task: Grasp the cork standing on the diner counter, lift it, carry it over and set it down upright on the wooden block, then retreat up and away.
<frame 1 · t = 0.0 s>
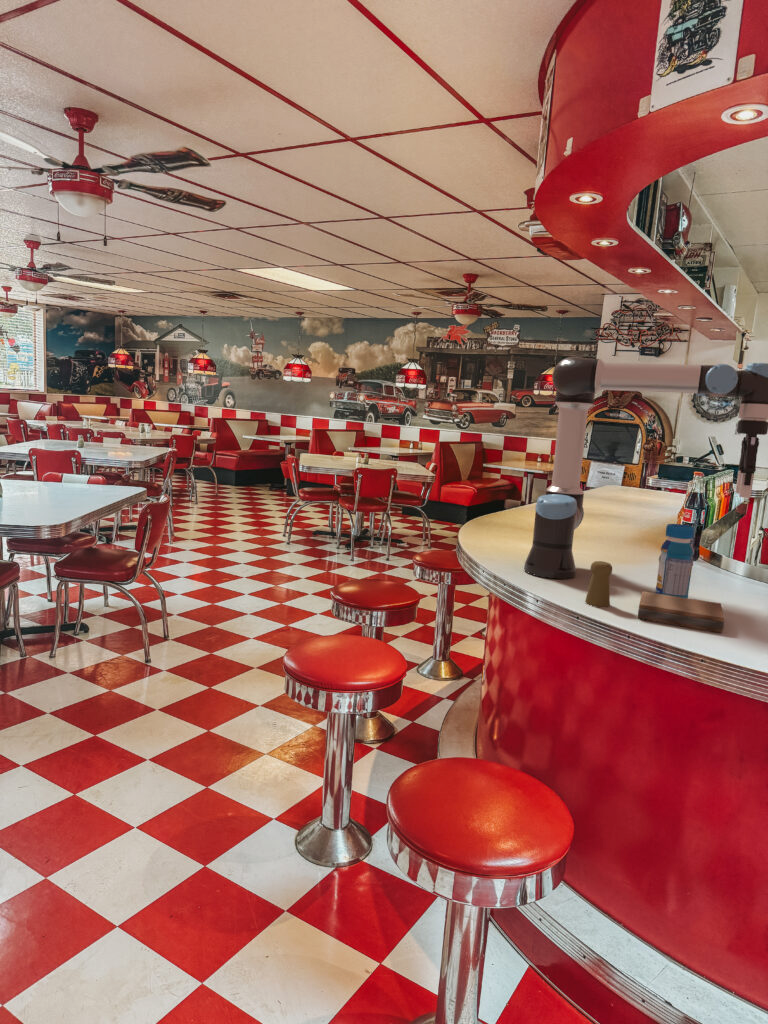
hand: (742, 495, 183), 28 cm above the table, fingers open, 13 cm apart
wooden block: (678, 617, 156), on the table
cork: (597, 604, 164), on the table
beverage bottle: (670, 599, 174), on the table
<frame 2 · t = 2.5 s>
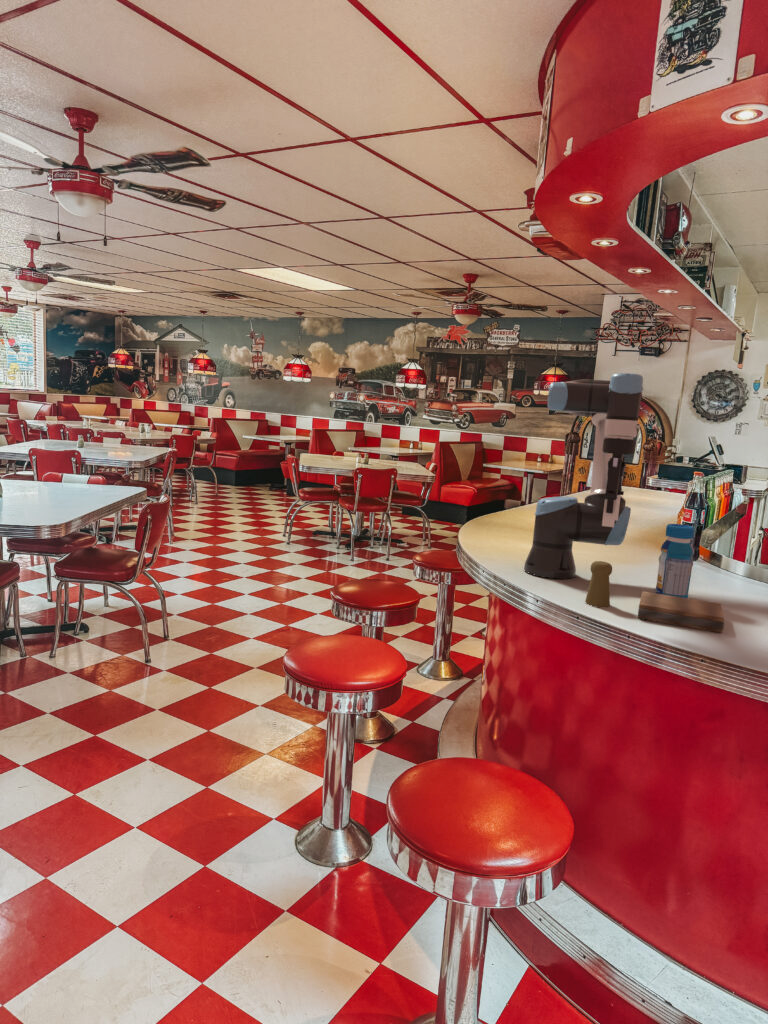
hand: (610, 523, 161), 21 cm above the table, fingers open, 13 cm apart
nothing on the table moved.
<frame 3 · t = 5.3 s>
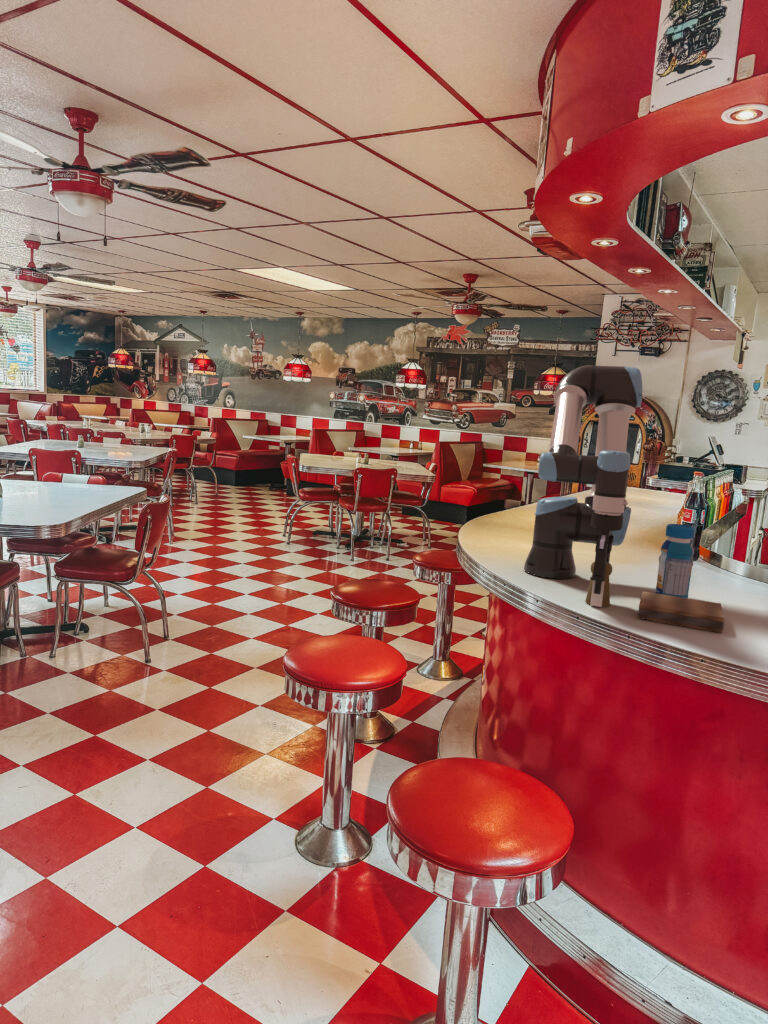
hand: (597, 602, 164), 0 cm above the table, fingers closed on cork, 6 cm apart
cork: (597, 604, 164), on the table, touching gripper
everything else where it was.
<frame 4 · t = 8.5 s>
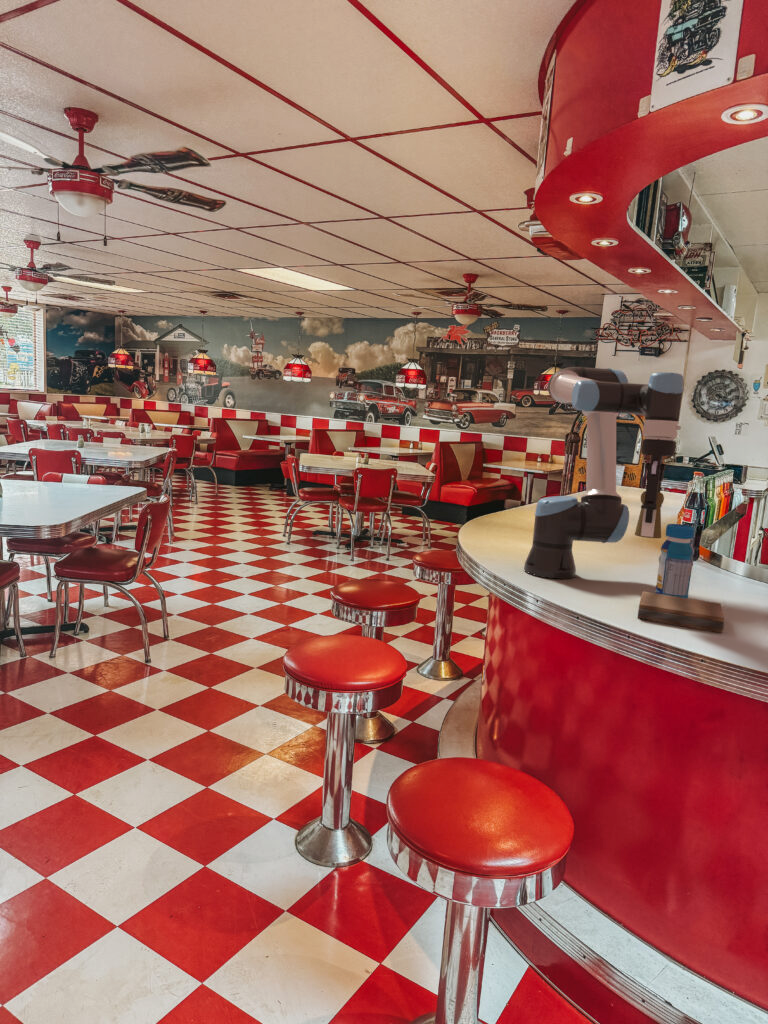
hand: (648, 534, 156), 19 cm above the table, fingers closed on cork, 6 cm apart
cork: (647, 536, 156), point 19 cm above the table, touching gripper
everything else where it was.
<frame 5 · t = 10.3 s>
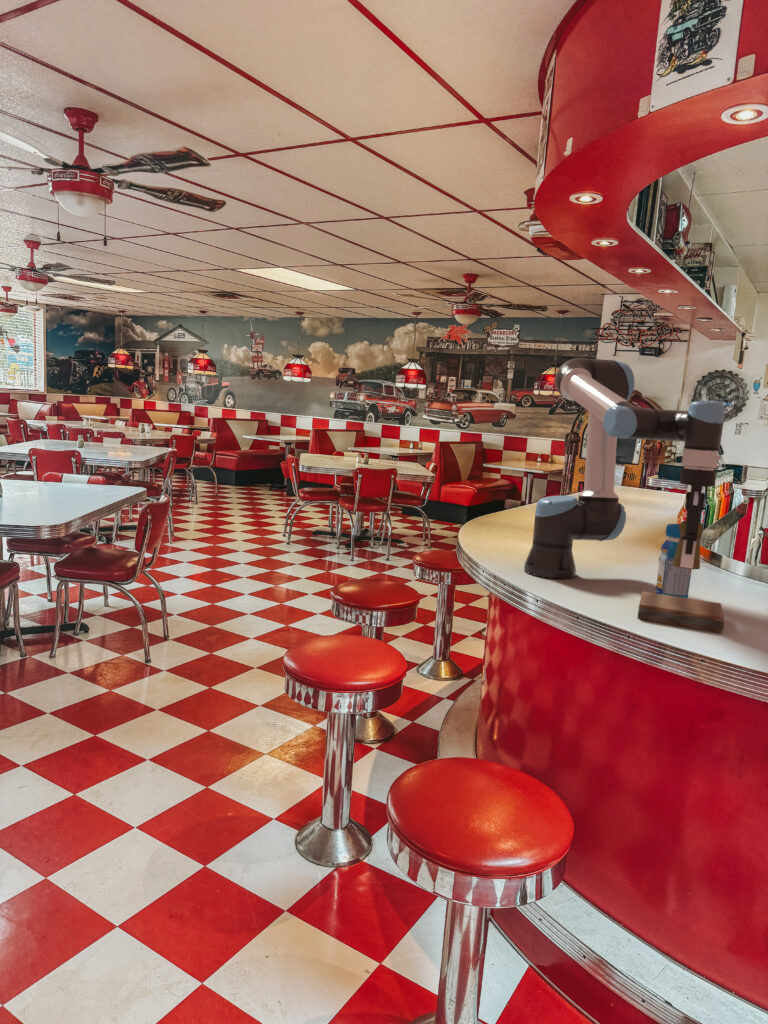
hand: (686, 564, 154), 13 cm above the table, fingers closed on cork, 6 cm apart
cork: (685, 567, 154), point 13 cm above the table, touching gripper
everything else where it was.
when the fingers open (5 cm above the table, at t = 12.0 s): cork drops 1 cm, resting on wooden block.
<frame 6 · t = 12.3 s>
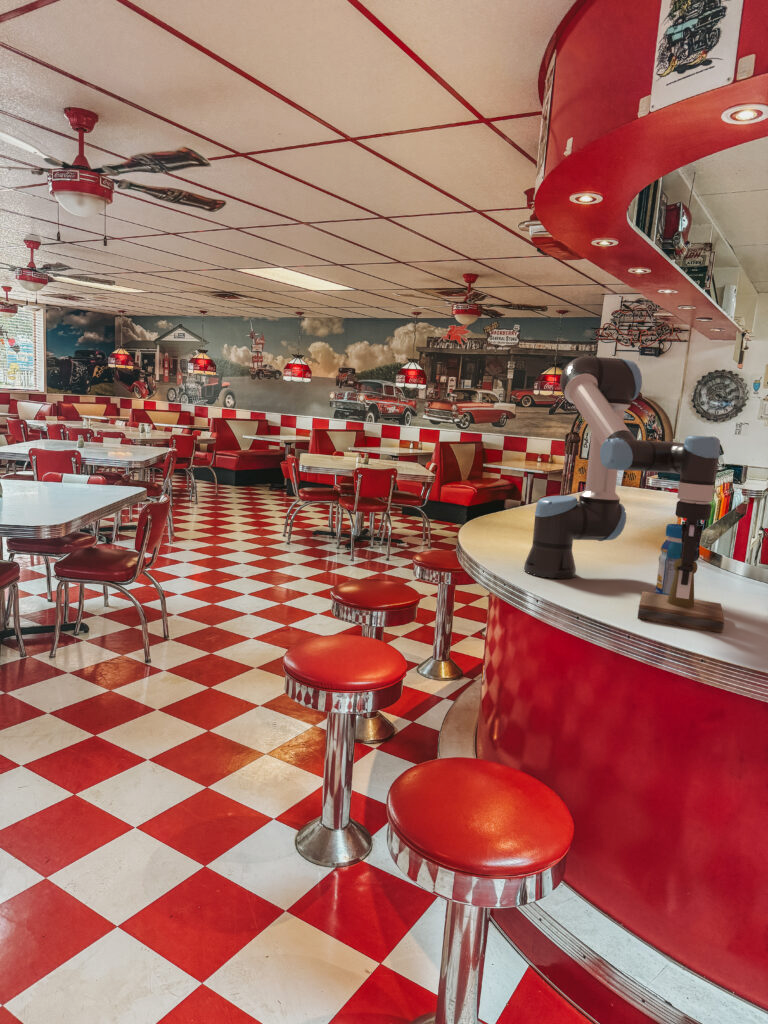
hand: (682, 592, 155), 6 cm above the table, fingers open, 10 cm apart
cork: (680, 604, 156), point 3 cm above the table, touching wooden block
everything else where it was.
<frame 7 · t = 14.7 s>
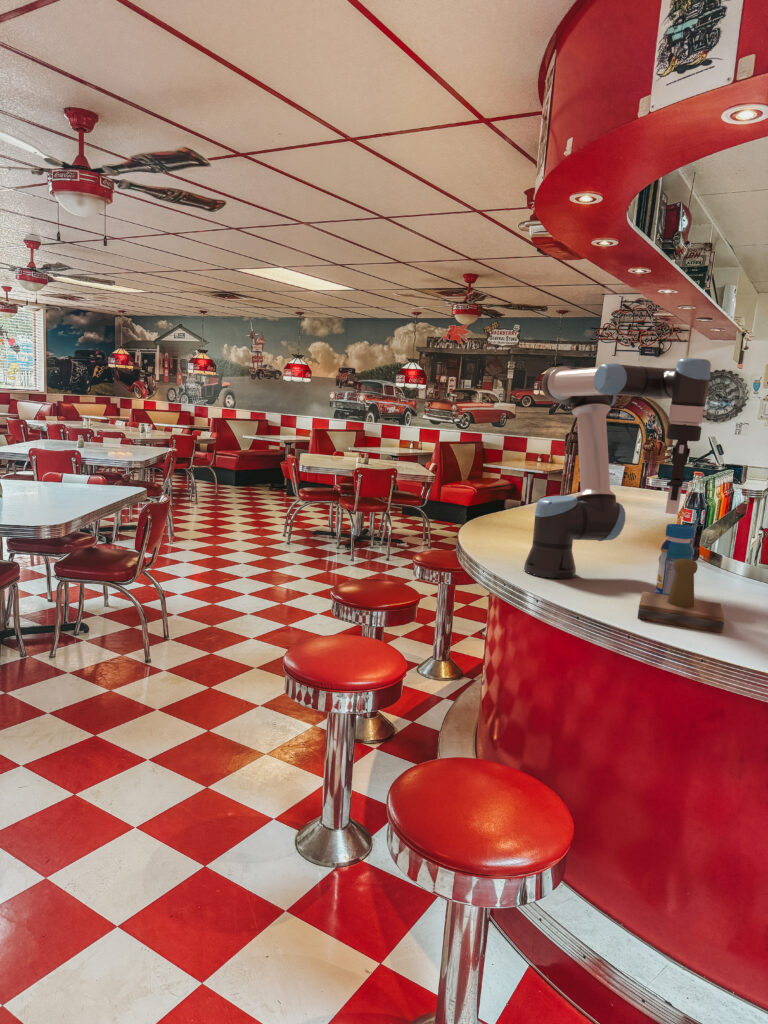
hand: (671, 510, 160), 25 cm above the table, fingers open, 13 cm apart
nothing on the table moved.
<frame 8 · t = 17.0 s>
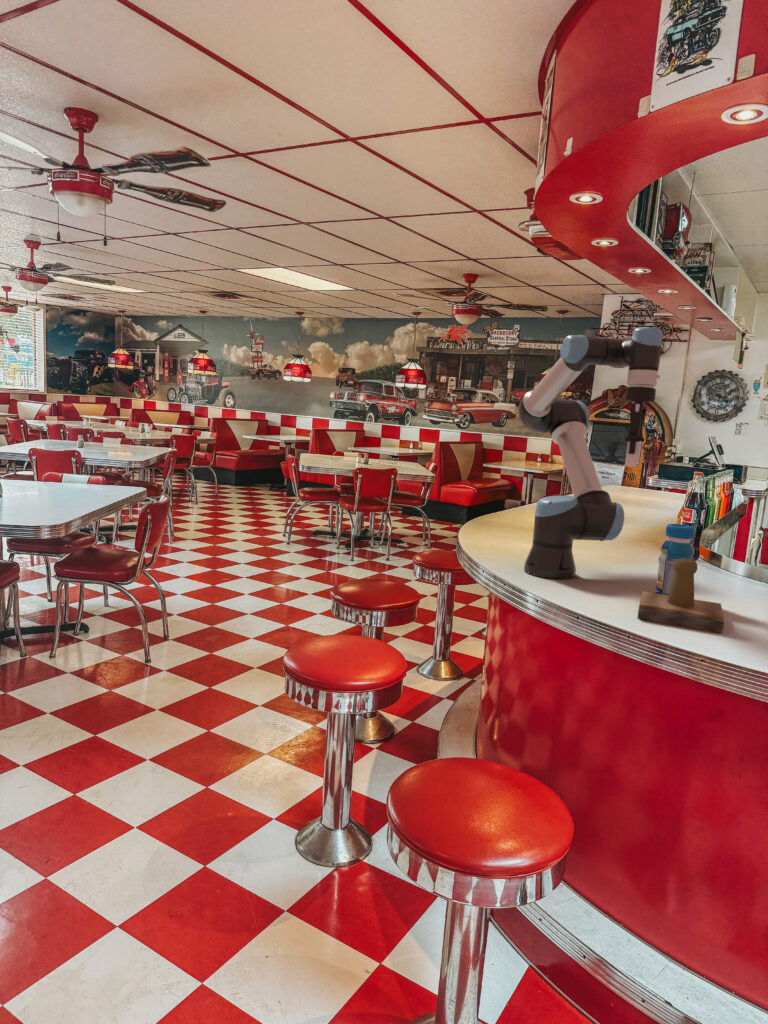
hand: (632, 465, 177), 35 cm above the table, fingers open, 13 cm apart
nothing on the table moved.
at the end: cork inside the target area on the wooden block (0.1 cm from its centre), point 3.3 cm above the wooden block's base; cork tilted 0°; the gripper is holding nothing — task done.
